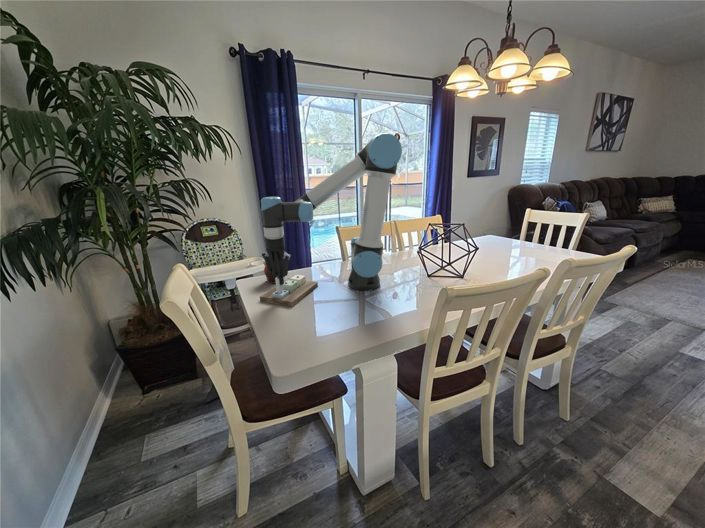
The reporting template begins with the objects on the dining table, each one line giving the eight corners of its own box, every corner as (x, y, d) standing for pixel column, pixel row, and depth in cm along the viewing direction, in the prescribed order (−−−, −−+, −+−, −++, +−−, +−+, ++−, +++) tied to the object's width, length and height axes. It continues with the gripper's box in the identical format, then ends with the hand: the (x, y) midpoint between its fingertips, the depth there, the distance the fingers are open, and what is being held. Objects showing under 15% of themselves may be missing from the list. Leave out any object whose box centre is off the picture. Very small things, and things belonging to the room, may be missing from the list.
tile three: (289, 297, 124) (289, 290, 123) (283, 302, 119) (282, 294, 118) (280, 295, 126) (279, 288, 124) (273, 300, 121) (272, 293, 120)
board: (317, 286, 136) (317, 282, 135) (292, 306, 116) (292, 302, 116) (288, 281, 141) (288, 278, 140) (260, 300, 122) (259, 296, 121)
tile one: (305, 282, 136) (305, 275, 134) (300, 286, 131) (299, 279, 130) (296, 281, 137) (296, 274, 136) (290, 284, 133) (290, 277, 132)
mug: (270, 276, 149) (268, 257, 145) (286, 277, 147) (284, 258, 144) (258, 285, 137) (256, 265, 134) (275, 286, 136) (273, 266, 132)
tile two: (298, 287, 129) (297, 280, 128) (291, 292, 125) (291, 284, 124) (288, 286, 131) (287, 279, 130) (282, 290, 127) (281, 283, 126)
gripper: (293, 236, 115) (298, 290, 122) (266, 233, 119) (272, 285, 127) (283, 240, 108) (288, 297, 116) (254, 237, 113) (261, 292, 120)
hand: (280, 291), depth 121 cm, fingers closed
